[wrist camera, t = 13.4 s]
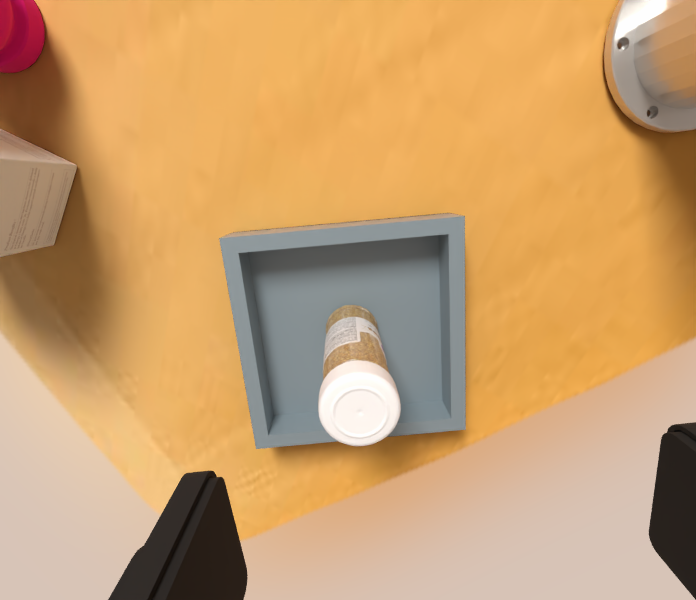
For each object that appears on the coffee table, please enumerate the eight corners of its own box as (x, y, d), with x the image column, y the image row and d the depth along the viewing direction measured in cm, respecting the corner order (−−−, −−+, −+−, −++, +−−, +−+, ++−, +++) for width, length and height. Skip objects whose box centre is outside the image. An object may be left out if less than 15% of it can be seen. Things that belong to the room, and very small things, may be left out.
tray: (449, 212, 33) (464, 216, 29) (452, 404, 38) (465, 429, 34) (233, 232, 33) (219, 238, 29) (264, 422, 37) (256, 448, 34)
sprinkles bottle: (385, 340, 34) (414, 431, 22) (337, 359, 35) (338, 461, 22) (365, 294, 33) (383, 362, 20) (315, 315, 34) (303, 394, 21)
